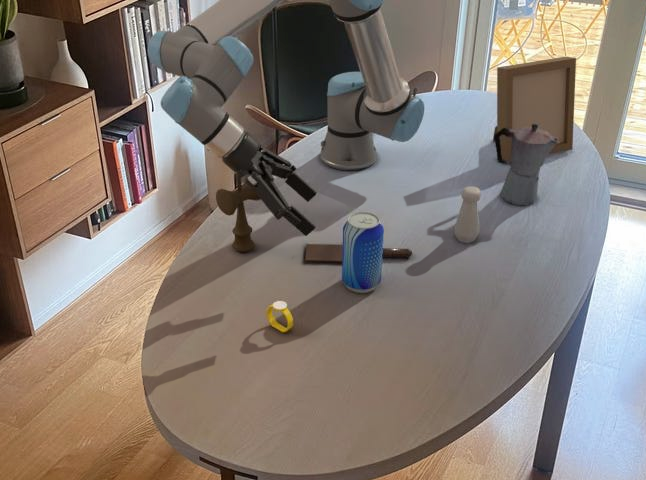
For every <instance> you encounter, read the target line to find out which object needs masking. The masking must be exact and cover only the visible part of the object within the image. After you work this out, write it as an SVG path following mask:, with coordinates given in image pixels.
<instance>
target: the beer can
mask: <svg viewBox="0 0 646 480" xmlns="http://www.w3.org/2000/svg"><path fill="white" fill-rule="evenodd" d="M384 232H385V229H384V226H383V224H382V223H381V220H380V217H379V216H378V215H377V214H375V213H373V212H370V211H356V212H353V213H351V214H350V215H348V217H347V221H346V222H345V223H344V224H343V227H342V245H343V250H342V263H341V282H342V283H343V285H345V287H346V289H348V290H350V292H351V291H352V292H354V293H358V294H359V293H360V294H367V293H370V292H372V291H374V290H375V289H377V288H378V286H379V285H380V284H381V281H382V270H383V269H382V267H383V257H382V253H383V248H384V234H385V233H384Z"/></svg>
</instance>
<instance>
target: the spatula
mask: <svg viewBox="0 0 646 480" xmlns="http://www.w3.org/2000/svg"><path fill="white" fill-rule="evenodd" d="M342 250H343V244H330V243H329V244H328V243H327V244H326V243H324V244H323V243H306V250H305V258H304V263H305V264H306V263H307V264H342ZM412 256H413V251H412V250H411V249H410V248H399V247H398V248H396V247H395V248H394V247H393V248H392V247H383V253H382V258H406V259H407V258H411V257H412Z"/></svg>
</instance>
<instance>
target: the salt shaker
mask: <svg viewBox="0 0 646 480" xmlns="http://www.w3.org/2000/svg"><path fill="white" fill-rule="evenodd" d="M481 196H482V192H481V190H480V189H479V188H478V187H476V186H466V187H464V188H463V189H462V191H461V199H462V202H461V206H460V208H459V212H458V215H457V218H456V221H455V224H454V228H453V231H454V234H455V237H456V239H457V240H458V242H460V243H463V244H464V243H465V244H470V243H473V242H475V240H476V239H477V237H478V236H479V233H480V221H479V208H478V202H479V201H480V200H481Z"/></svg>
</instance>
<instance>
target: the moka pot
mask: <svg viewBox="0 0 646 480" xmlns="http://www.w3.org/2000/svg"><path fill="white" fill-rule="evenodd" d="M501 135H505V136H507V137H509V138H512V146H511V158H510V159H511V162H509V164H510V167H509V168H508V171H507V175H506V177H505V180H504V182H503V185H502V188H501V191H500V196H501V198H502V199H504V201H506V202H507V203H510V204H512V205H516V206H517V205H518V206H529V205H532V204H533V203H535V201H536V200H537V195H538V187H539V186H538V185H539V180H540V177H539V176H540V170H541V168H542V166H544V163H545V161H546V158H547V156H548V154H549V152H550V151H551V150H552V149H553V147H554V146H555V145H556V144H557V143H559V141H558V139H556V138H555V137H553V136H550V134H549V133H548V132H547V131H544V130H542V129H539V128H538V125H536V124H532V127H520V128H518V129H517V130H514V129H507V128H503V129H501V130H500V131H498V133H496V134H495V135H494V134H493V136H494V141H493V142H494V145H495V146H494V147H495V151H496V159H497V158H498V160H497V162H498V163H500V164H502V165H507V164H508V163H507V162H508V161H507V160H503V159H502V155H501V146H500V139H499V137H500V136H501ZM549 155H550V154H549Z"/></svg>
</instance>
